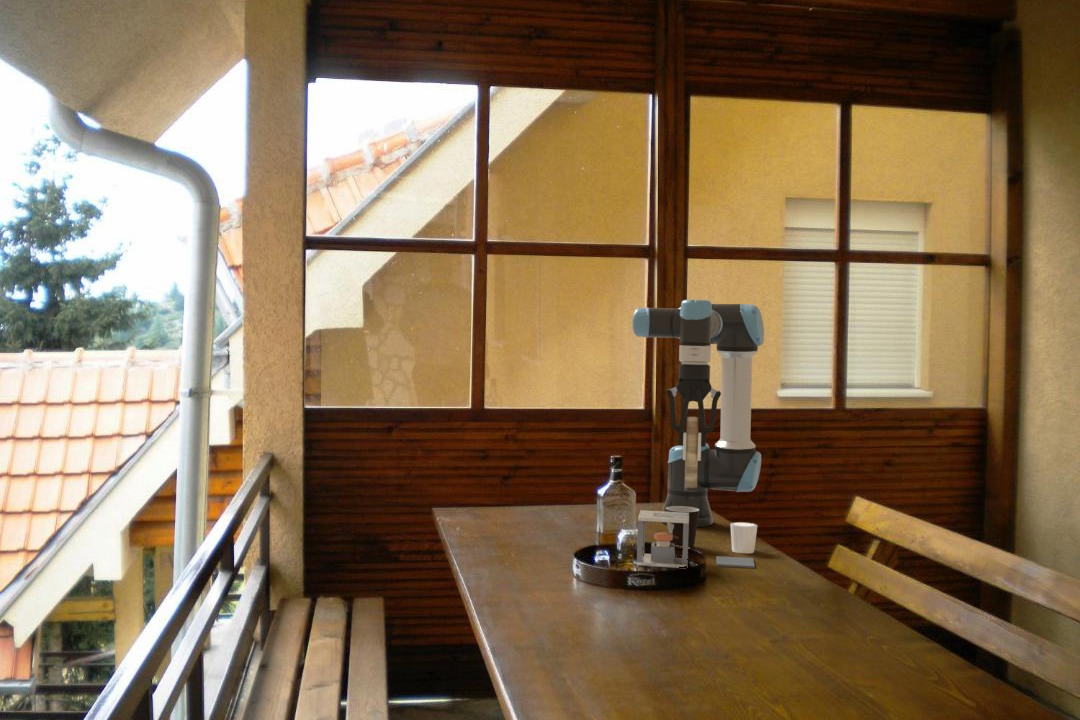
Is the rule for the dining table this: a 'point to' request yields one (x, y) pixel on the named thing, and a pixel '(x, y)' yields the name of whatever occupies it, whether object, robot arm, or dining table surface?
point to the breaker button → (663, 539)
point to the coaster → (735, 562)
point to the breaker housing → (659, 553)
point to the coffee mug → (677, 528)
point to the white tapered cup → (743, 537)
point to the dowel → (691, 454)
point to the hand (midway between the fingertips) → (691, 459)
